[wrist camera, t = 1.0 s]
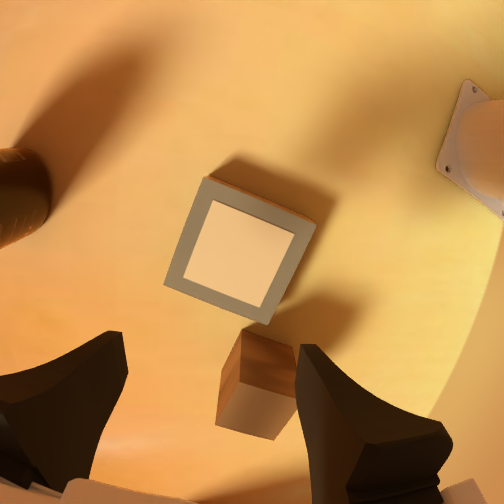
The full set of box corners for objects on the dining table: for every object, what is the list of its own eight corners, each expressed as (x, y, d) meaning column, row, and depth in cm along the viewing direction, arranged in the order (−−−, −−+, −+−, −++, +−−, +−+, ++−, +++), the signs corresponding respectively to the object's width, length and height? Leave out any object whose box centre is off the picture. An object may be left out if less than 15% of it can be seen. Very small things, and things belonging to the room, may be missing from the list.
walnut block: (292, 347, 23) (303, 400, 17) (269, 385, 24) (273, 440, 18) (241, 329, 23) (239, 381, 17) (221, 369, 24) (215, 424, 18)
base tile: (310, 219, 20) (317, 225, 18) (266, 311, 22) (267, 326, 20) (208, 175, 20) (203, 176, 18) (170, 273, 21) (163, 285, 19)
